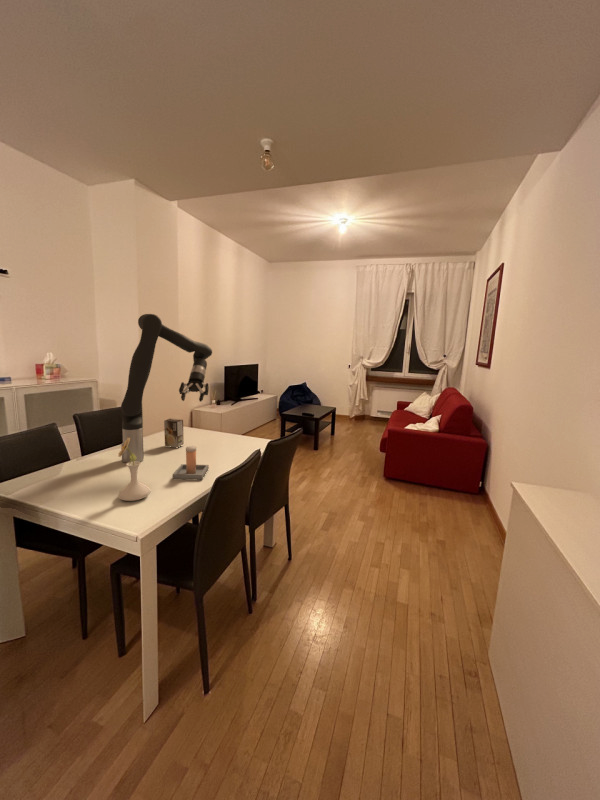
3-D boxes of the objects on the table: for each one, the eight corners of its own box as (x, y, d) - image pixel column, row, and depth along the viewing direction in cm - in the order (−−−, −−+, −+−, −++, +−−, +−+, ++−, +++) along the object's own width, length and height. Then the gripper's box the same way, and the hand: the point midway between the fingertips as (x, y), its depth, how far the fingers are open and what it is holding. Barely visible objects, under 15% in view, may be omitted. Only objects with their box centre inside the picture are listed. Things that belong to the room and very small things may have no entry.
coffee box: (184, 445, 197) (183, 419, 195) (178, 448, 191) (177, 421, 189) (170, 444, 199) (170, 418, 197) (164, 447, 193) (163, 420, 191)
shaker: (184, 474, 151) (184, 449, 150) (187, 470, 156) (187, 446, 154) (194, 474, 152) (194, 449, 150) (197, 471, 156) (197, 446, 154)
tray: (172, 479, 147) (172, 474, 147) (181, 469, 160) (181, 464, 160) (202, 480, 148) (202, 474, 147) (208, 469, 161) (208, 464, 160)
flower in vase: (126, 490, 134) (123, 431, 130) (154, 491, 135) (153, 432, 131) (110, 505, 121) (107, 440, 118) (142, 506, 122) (139, 441, 118)
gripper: (182, 370, 170) (175, 395, 161) (209, 371, 171) (204, 396, 161) (185, 379, 176) (178, 404, 167) (212, 380, 177) (207, 405, 168)
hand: (191, 400), depth 164 cm, fingers open, 8 cm apart
